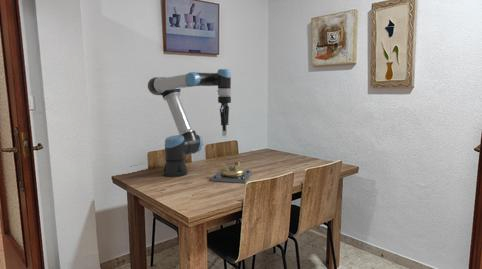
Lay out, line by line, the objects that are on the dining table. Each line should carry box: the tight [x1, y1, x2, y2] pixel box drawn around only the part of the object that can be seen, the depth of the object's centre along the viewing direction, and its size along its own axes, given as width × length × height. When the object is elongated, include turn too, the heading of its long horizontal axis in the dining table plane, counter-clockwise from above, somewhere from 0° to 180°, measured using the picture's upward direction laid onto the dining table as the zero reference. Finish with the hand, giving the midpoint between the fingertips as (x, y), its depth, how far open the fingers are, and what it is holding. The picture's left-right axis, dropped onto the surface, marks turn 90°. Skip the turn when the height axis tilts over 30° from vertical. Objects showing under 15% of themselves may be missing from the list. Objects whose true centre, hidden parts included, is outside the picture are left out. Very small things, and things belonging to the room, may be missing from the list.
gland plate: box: [210, 169, 253, 184], centre depth 203 cm, size 20×20×3 cm
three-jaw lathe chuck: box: [220, 160, 245, 177], centre depth 202 cm, size 14×14×6 cm
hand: (224, 136), depth 203 cm, fingers closed
